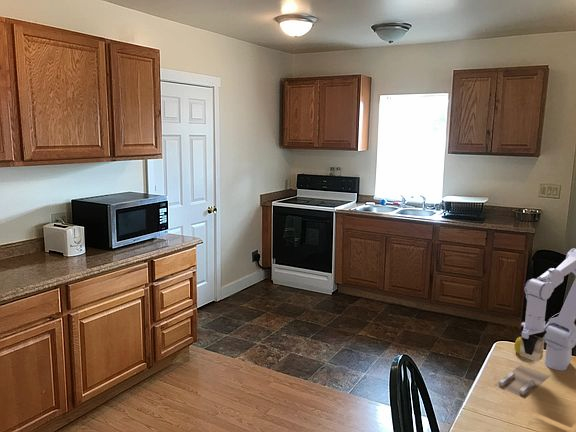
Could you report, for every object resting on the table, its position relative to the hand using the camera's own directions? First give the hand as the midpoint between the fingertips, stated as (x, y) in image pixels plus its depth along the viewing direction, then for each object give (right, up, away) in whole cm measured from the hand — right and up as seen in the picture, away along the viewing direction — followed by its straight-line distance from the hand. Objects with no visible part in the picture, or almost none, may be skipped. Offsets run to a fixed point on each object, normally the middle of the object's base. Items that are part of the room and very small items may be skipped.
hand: (531, 351), depth 163 cm
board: (-4, -11, -1) cm, 11 cm away
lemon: (+5, -7, +18) cm, 20 cm away
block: (0, -2, 0) cm, 2 cm away
